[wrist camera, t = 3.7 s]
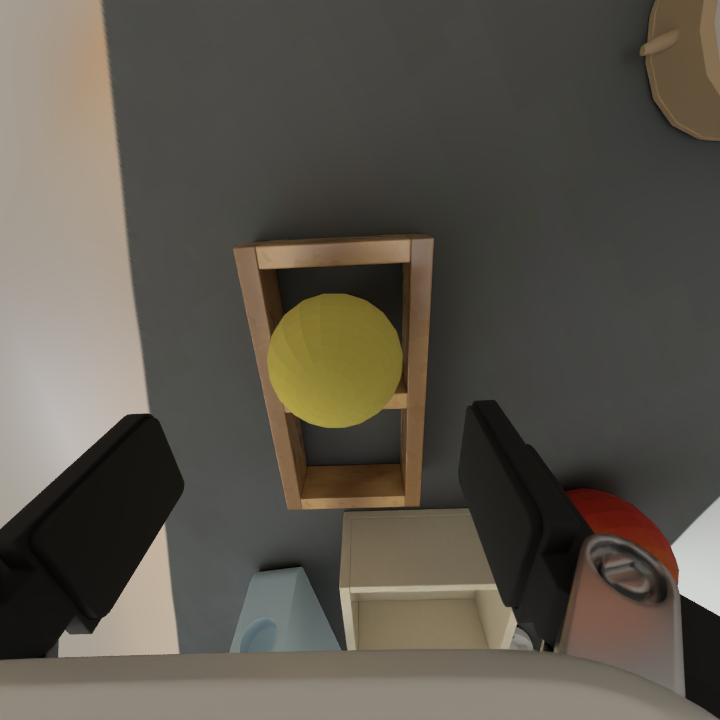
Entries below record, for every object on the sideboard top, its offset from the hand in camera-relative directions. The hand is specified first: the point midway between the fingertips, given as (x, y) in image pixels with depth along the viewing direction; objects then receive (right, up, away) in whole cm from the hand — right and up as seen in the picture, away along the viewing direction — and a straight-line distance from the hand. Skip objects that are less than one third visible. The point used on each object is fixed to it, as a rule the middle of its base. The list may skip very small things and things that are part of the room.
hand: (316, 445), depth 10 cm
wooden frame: (0, +1, +14) cm, 14 cm away
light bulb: (0, +6, +12) cm, 14 cm away
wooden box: (+7, -18, +24) cm, 31 cm away
